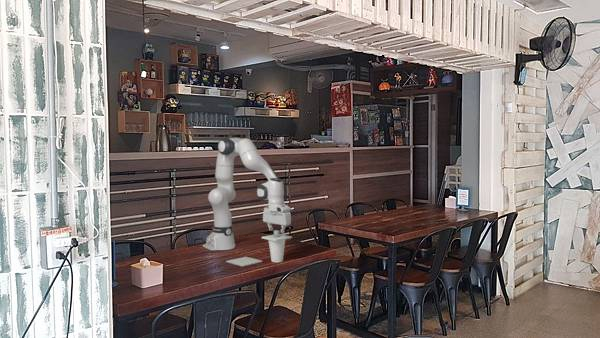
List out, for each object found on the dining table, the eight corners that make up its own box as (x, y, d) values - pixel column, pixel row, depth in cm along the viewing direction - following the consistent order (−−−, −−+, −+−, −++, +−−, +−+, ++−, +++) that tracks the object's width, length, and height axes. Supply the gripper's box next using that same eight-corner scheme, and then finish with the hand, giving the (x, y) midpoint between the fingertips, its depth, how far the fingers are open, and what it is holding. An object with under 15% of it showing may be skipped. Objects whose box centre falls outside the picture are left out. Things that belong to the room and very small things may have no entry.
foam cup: (283, 263, 272) (282, 240, 271) (266, 262, 274) (266, 239, 273) (287, 259, 281) (286, 236, 280) (271, 258, 283) (271, 236, 282)
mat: (226, 261, 277) (226, 260, 277) (245, 257, 286) (245, 256, 286) (242, 266, 266) (242, 265, 266) (262, 261, 276) (262, 260, 276)
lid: (261, 238, 277) (261, 230, 276) (277, 235, 285) (277, 227, 285) (276, 241, 268) (275, 233, 268) (291, 237, 277) (291, 230, 276)
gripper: (260, 206, 281) (260, 230, 282) (284, 209, 266) (284, 234, 267) (268, 205, 285) (268, 228, 286) (292, 208, 271) (293, 233, 271)
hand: (276, 231), depth 276 cm, fingers open, 8 cm apart
